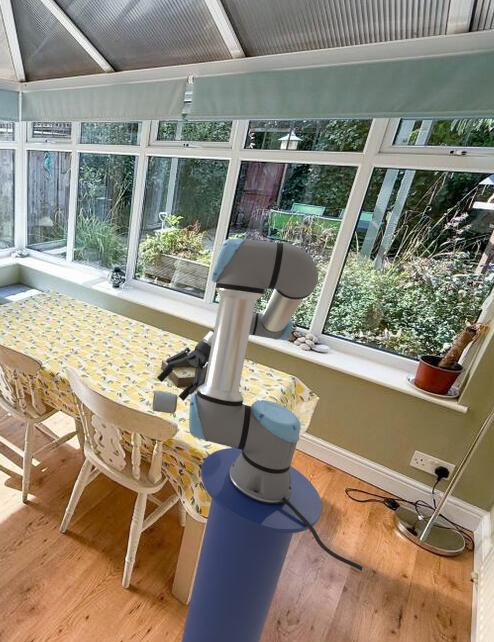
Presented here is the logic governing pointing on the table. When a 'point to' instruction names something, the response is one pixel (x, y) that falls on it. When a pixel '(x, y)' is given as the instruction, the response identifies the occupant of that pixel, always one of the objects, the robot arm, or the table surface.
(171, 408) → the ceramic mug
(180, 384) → the walnut holder
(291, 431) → the robot arm
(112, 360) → the table surface
